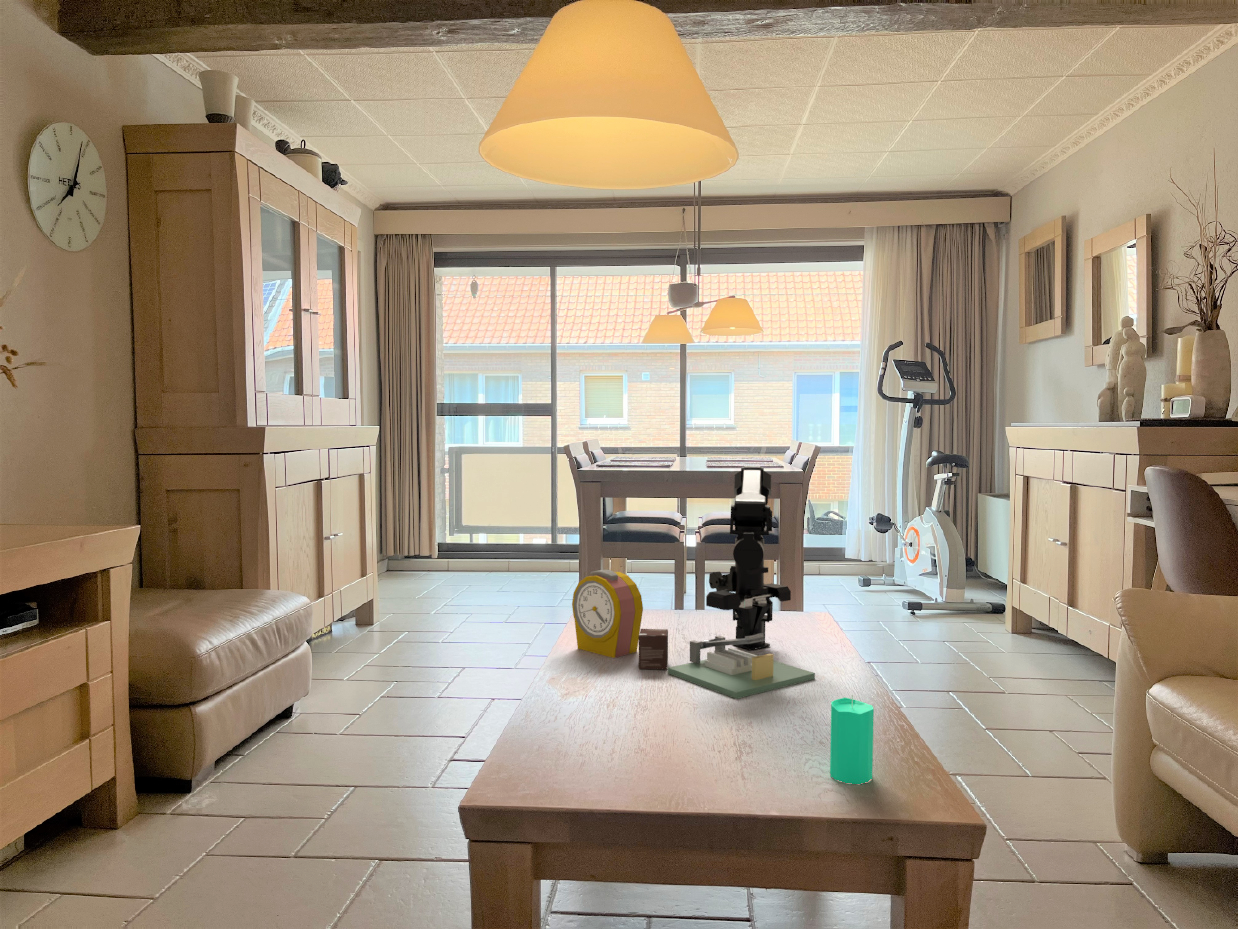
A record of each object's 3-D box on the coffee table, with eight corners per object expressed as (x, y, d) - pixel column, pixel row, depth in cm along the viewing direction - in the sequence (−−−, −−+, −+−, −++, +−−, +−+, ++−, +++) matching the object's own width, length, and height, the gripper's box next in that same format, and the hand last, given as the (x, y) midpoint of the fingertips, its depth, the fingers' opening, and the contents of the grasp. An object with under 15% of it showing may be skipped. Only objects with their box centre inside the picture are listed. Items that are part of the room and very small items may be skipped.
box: (668, 662, 180) (668, 629, 180) (667, 670, 174) (667, 635, 174) (640, 661, 181) (640, 628, 181) (638, 669, 175) (638, 634, 175)
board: (741, 655, 186) (741, 631, 186) (814, 678, 169) (815, 652, 169) (664, 672, 173) (665, 645, 173) (736, 698, 156) (736, 669, 156)
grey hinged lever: (714, 646, 181) (713, 637, 181) (766, 642, 168) (765, 632, 168) (697, 649, 178) (695, 640, 178) (748, 646, 165) (747, 636, 165)
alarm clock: (570, 647, 192) (570, 568, 191) (595, 641, 198) (595, 564, 197) (617, 660, 182) (618, 576, 181) (642, 653, 188) (643, 571, 187)
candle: (823, 768, 124) (825, 688, 124) (863, 767, 125) (864, 688, 124) (837, 785, 118) (839, 702, 118) (879, 784, 119) (880, 701, 118)
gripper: (753, 553, 180) (753, 625, 181) (688, 560, 169) (687, 637, 170) (792, 559, 171) (792, 635, 172) (726, 567, 160) (725, 648, 161)
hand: (748, 638), depth 169 cm, fingers closed, pressing on grey hinged lever
